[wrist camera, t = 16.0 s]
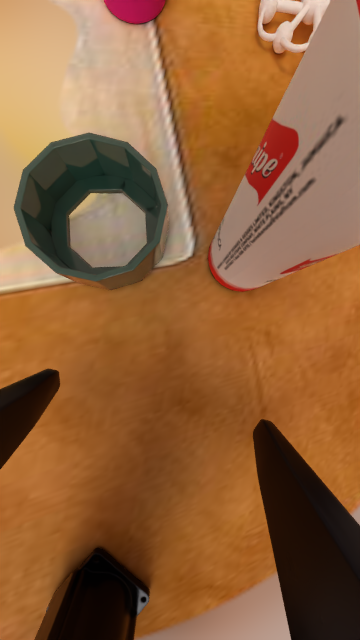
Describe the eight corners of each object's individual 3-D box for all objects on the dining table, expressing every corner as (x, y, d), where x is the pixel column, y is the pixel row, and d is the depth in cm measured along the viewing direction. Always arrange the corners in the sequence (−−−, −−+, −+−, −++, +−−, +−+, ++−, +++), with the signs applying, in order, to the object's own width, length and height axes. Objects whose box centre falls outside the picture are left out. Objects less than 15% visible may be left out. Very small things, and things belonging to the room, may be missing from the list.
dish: (190, 228, 17) (195, 203, 14) (112, 312, 17) (96, 309, 13) (104, 149, 17) (87, 105, 14) (23, 232, 17) (-17, 208, 13)
